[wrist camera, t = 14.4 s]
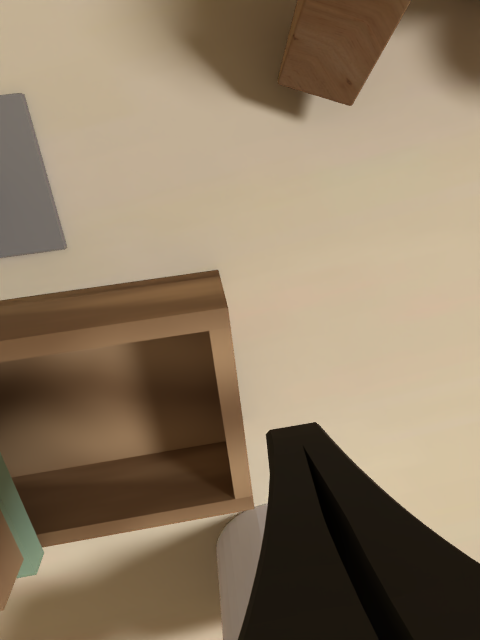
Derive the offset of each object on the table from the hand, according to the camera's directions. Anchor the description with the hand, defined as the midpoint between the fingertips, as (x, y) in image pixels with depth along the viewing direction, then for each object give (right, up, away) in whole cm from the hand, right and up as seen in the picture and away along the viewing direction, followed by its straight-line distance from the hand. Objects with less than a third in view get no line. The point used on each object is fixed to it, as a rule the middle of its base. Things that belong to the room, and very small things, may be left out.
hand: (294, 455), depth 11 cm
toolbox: (-13, 0, +10) cm, 16 cm away
